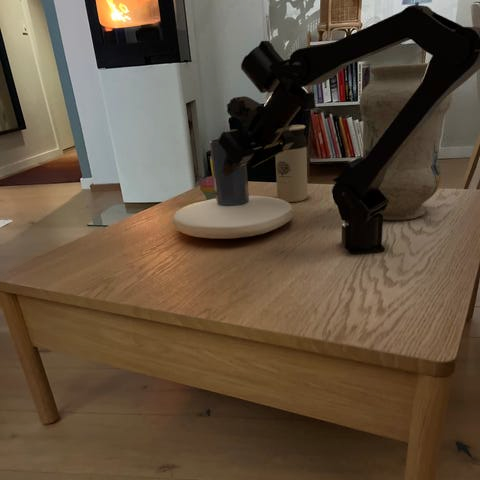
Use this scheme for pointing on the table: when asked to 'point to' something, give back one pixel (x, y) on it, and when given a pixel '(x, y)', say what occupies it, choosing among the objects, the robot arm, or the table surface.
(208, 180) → the cupcake
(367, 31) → the robot arm
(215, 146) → the cup
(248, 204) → the plate
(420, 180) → the vase
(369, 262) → the table surface
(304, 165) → the travel mug
